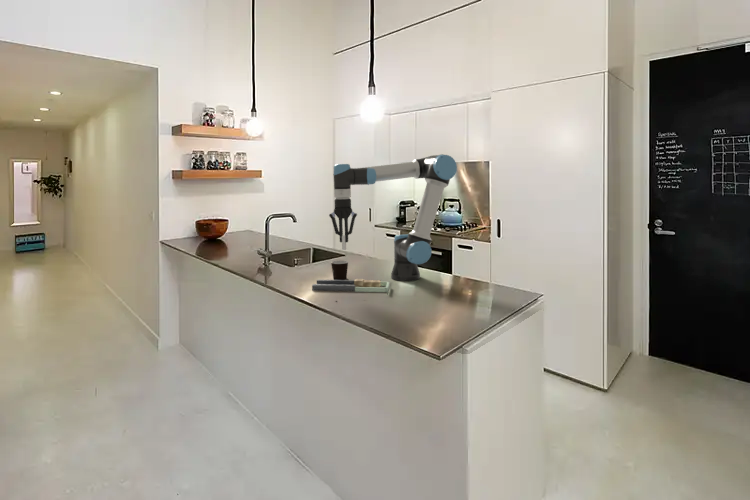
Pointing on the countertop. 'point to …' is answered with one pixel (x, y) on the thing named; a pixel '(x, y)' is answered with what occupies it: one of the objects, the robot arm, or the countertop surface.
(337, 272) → the coffee mug
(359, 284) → the tan cubic piece
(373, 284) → the beige cubic piece
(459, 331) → the countertop surface
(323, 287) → the slot channel
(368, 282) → the tan wooden block
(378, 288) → the tray
